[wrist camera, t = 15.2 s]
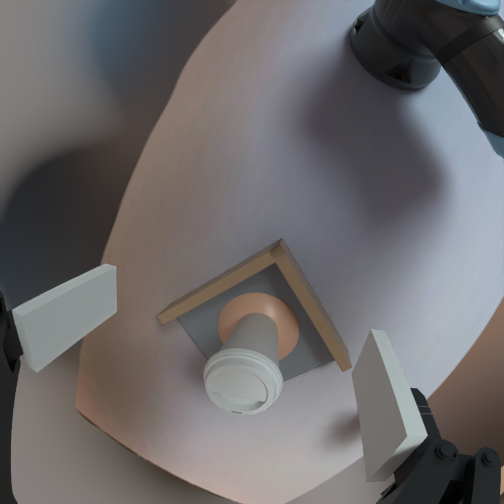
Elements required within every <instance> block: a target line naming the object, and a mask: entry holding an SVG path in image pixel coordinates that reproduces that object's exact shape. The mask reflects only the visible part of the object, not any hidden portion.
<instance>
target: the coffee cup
mask: <svg viewBox="0 0 504 504" xmlns="http://www.w3.org/2000/svg"><path fill="white" fill-rule="evenodd" d="M203 380H204V385H205V388H206V392H207V394H208V396H209V398H210V399H211V400H212V402H213V403H214V404H216V405H217V406H218V407H220V408H221V409H223V410H225V411H227V412H230V413H233V414H237V415H253V414H257V413H260V412H262V411H264V410H266V409H267V408H268V407H269V406H270V405H272V404H273V403H274V402H275V401H276V400H277V398H278V397H279V395H280V393H281V391H282V388H283V377H282V374H281V372H280V370H279V352H278V328H277V325H276V323H275V322H274V320H273V319H272V318H271V317H269V316H267V315H265V314H262V313H250V314H247V315H245V316H244V317H243V318H241V320H240V321H239V322H238V324H237V325H236V327H235V328H234V330H233V331H232V333H231V334H230V336H229V337H228V339H227V340H226V342H225V343H224V345H223V346H222V348H221V349H220V350H219V352H218V353H216V354H214V355H213V356H212V357H210V358H209V360H208V361H207V362H206V364H205V367H204V372H203Z"/></svg>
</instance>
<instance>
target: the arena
mask: <svg viewBox="0 0 504 504" xmlns="http://www.w3.org/2000/svg"><path fill="white" fill-rule="evenodd" d="M250 313H262V314H265V315H267V316H269V317H271V318H272V319H273V320H274V322H275V323H276V325H277V328H278V352H279V370H280V372H281V374H282V377H283V381H286V380H288V379H291V378H293V377H295V376H298V375H300V374H302V373H305V372H307V371H309V370H312V369H314V368H316V367H318V366H320V365H323V364H325V363H327V362H329V361H331V360H333V359H335V360H336V362H337V364H338V365H339V367H340V369H341V370H342V372H344V371H346V370H348V369H350V368H352V366H351V362H350V358H349V354H348V350H347V349H346V347H345V345H344V343H343V341H342V340H341V338H340V336H339V334H338V333H337V331H336V329H335V327H334V326H333V324H332V322H331V320H330V319H329V317H328V315H327V313H326V312H325V310H324V308H323V306H322V305H321V303H320V301H319V300H318V298H317V296H316V294H315V293H314V291H313V289H312V288H311V286H310V284H309V283H308V281H307V279H306V278H305V276H304V274H303V273H302V271H301V269H300V268H299V266H298V264H297V263H296V261H295V259H294V258H293V256H292V254H291V253H290V251H289V249H288V248H287V246H286V244H285V243H284V241H283V239H282V238H281V239H280V240H278V241H276V242H275V243H273V244H271V245H270V246H268V247H266V248H265V249H263V250H261V251H259V252H258V253H256V254H254V255H253V256H251V257H249V258H248V259H246V260H244V261H243V262H241V263H239V264H237V265H236V266H234V267H232V268H231V269H229V270H227V271H226V272H224V273H222V274H221V275H219V276H217V277H215V278H214V279H212V280H210V281H209V282H207V283H205V284H204V285H202V286H200V287H199V288H197V289H195V290H193V291H192V292H190V293H188V294H187V295H185V296H183V297H182V298H180V299H178V300H176V301H175V302H173V303H171V304H170V305H169V306H168V307H167V308H166V309H164V310H163V311H162V312H161V313H160V314H159V315H158V316H157V317H158V319H159V320H160V321H161V323H162V324H163V325H164V324H166V323H168V322H169V321H171V320H173V319H175V318H178V320H179V321H180V323H181V324H182V325H183V327H184V328H185V330H186V331H187V332H188V334H189V335H190V336H191V338H192V339H193V340H194V342H195V343H196V344H197V346H198V347H199V348H200V350H201V351H202V352H203V354H204V355H205V356H206V357H207V359H208V360H209V358H210V357H212V356H213V355H214V354H216V353H218V352H219V350H220V349H221V348H222V346H223V345H224V343H225V342H226V340H227V339H228V337H229V336H230V334H231V333H232V331H233V330H234V328H235V327H236V325H237V324H238V322H239V321H240V320H241V318H243V317H244V316H245V315H247V314H250Z"/></svg>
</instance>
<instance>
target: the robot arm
mask: <svg viewBox="0 0 504 504" xmlns="http://www.w3.org/2000/svg"><path fill="white" fill-rule="evenodd" d="M499 10H500V0H375V3H374V5H373V6H371V7H370V8H369V9H367V10H366V11H364V12H363V13H362V14H360V15H359V16H358V17H357V19H356V20H355V22H354V24H353V27H352V30H351V33H350V42H351V47H352V50H353V52H354V54H355V56H356V58H357V59H358V61H359V62H360V63H361V64H362V66H363V67H364V68H365V69H366V70H367V71H368V72H369V73H371V74H372V75H373V76H374V77H376V78H377V79H379V80H380V81H382V82H384V83H386V84H388V85H390V86H393V87H396V88H400V89H405V90H416V89H420V88H423V87H425V86H427V85H428V84H429V83H431V82H432V81H433V80H434V79H435V78H436V77H437V75H438V74H439V72H440V68H441V65H442V67H443V68H444V70H445V71H446V73H447V74H448V75H449V77H450V78H451V80H452V81H453V82H454V84H455V85H456V87H457V88H458V90H459V91H460V93H461V94H462V96H463V98H464V99H465V101H466V102H467V104H468V106H469V107H470V109H471V111H472V112H473V114H474V116H475V118H476V119H477V121H478V122H477V123H478V125H479V127H480V129H481V130H482V131H483V132H484V133H485V135H486V137H487V139H488V141H489V142H490V144H491V146H492V148H493V150H494V151H495V152H496V153H497V154H498V155H499V156H501V157H502V158H504V21H503V20H502V18H501V17H500V16H499V15H498V12H499ZM116 312H117V293H116V267H115V266H112V265H109V264H103V265H101V266H99V267H97V268H95V269H93V270H91V271H88V272H86V273H84V274H82V275H80V276H78V277H76V278H74V279H72V280H69V281H68V282H65V283H63V284H61V285H59V286H57V287H55V288H53V289H51V290H49V291H47V292H45V293H43V294H40V295H38V296H36V297H34V298H32V299H30V300H29V301H26V302H25V303H23V304H21V305H19V306H17V307H15V308H13V309H11V310H9V311H6V307H5V302H4V298H3V294H2V292H1V291H0V504H18V503H17V501H16V500H15V498H14V495H13V493H12V484H11V430H12V417H13V408H14V400H15V392H16V387H17V381H18V374H19V369H20V358H19V357H20V356H21V355H23V354H24V358H25V361H26V364H27V365H28V366H29V367H30V368H32V369H33V370H34V371H35V372H39V371H40V370H41V369H42V368H44V367H45V366H46V365H47V364H49V363H50V362H51V361H53V360H54V359H55V358H56V357H58V356H59V355H60V354H61V353H63V352H64V351H66V350H67V349H68V348H69V347H71V346H72V345H73V344H75V343H76V342H77V341H79V340H80V339H81V338H83V337H84V336H85V335H87V334H88V333H89V332H91V331H92V330H93V329H95V328H96V327H97V326H99V325H100V324H101V323H103V322H104V321H105V320H107V319H108V318H109V317H111V316H112V315H114V314H115V313H116ZM352 378H353V384H354V390H355V396H356V402H357V408H358V415H359V422H360V429H361V436H362V444H363V453H364V461H365V472H366V481H367V482H376V481H386V480H387V479H388V478H389V477H390V476H391V475H392V474H393V473H394V476H395V482H394V483H392V484H391V485H390V486H389V487H388V488H387V489H386V490H385V491H383V492H382V493H381V495H382V497H381V498H380V499H379V501H378V502H377V503H376V504H499V501H500V485H501V461H500V457H499V455H498V454H497V452H496V451H495V450H493V449H491V448H489V447H483V448H480V449H479V450H478V451H477V453H476V454H475V455H474V456H470V455H464V454H459V452H458V449H457V448H456V447H455V445H454V444H452V443H451V442H450V441H446V440H442V438H441V436H440V433H439V430H438V428H437V425H436V423H435V421H434V418H433V415H431V411H430V408H429V407H428V403H427V401H426V399H425V396H424V395H423V394H422V393H421V392H420V391H419V390H418V389H417V388H410V387H409V384H408V382H407V380H406V377H405V375H404V372H403V370H402V368H401V365H400V363H399V361H398V358H397V356H396V354H395V352H394V349H393V347H392V345H391V343H390V341H389V339H388V336H387V334H386V332H385V331H382V330H376V329H370V332H369V334H368V337H367V339H366V342H365V344H364V347H363V349H362V351H361V354H360V356H359V358H358V361H357V363H356V365H355V367H354V370H353V372H352Z"/></svg>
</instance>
